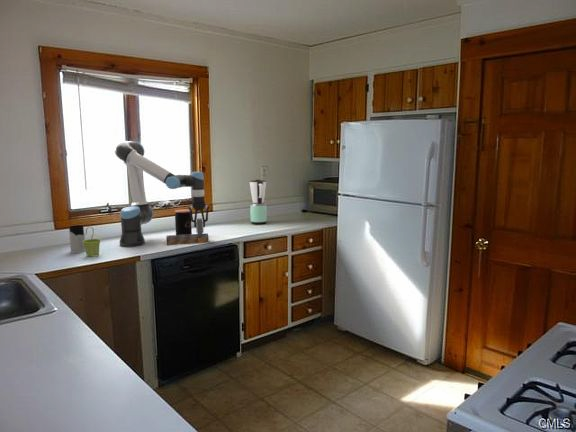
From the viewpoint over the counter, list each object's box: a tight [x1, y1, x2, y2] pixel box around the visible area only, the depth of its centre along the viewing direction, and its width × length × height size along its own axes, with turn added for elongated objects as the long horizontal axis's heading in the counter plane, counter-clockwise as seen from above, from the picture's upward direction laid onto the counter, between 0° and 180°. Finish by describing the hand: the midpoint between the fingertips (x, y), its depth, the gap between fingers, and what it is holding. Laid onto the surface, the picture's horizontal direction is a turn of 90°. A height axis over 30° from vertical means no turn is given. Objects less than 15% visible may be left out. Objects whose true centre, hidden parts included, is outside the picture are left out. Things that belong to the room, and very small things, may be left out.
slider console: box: [165, 232, 210, 246], centre depth 281 cm, size 26×10×4 cm, turn 104°
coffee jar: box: [174, 208, 193, 235], centre depth 299 cm, size 11×11×18 cm
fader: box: [196, 217, 204, 235], centre depth 282 cm, size 3×5×11 cm, turn 14°
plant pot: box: [83, 238, 102, 258], centre depth 247 cm, size 9×9×9 cm
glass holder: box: [68, 224, 95, 254], centre depth 259 cm, size 9×14×15 cm, turn 138°
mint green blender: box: [249, 179, 268, 226], centre depth 347 cm, size 19×13×35 cm
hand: (199, 232), depth 282 cm, fingers closed on fader, 3 cm apart
